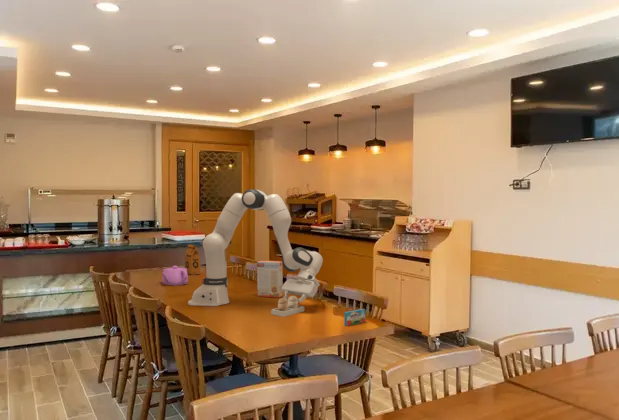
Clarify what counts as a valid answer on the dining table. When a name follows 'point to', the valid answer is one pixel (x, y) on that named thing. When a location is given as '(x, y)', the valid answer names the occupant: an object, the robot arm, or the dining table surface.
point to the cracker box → (269, 279)
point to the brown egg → (283, 305)
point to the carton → (287, 313)
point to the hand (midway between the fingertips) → (292, 300)
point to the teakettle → (175, 276)
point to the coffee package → (192, 260)
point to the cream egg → (293, 302)
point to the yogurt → (354, 317)
